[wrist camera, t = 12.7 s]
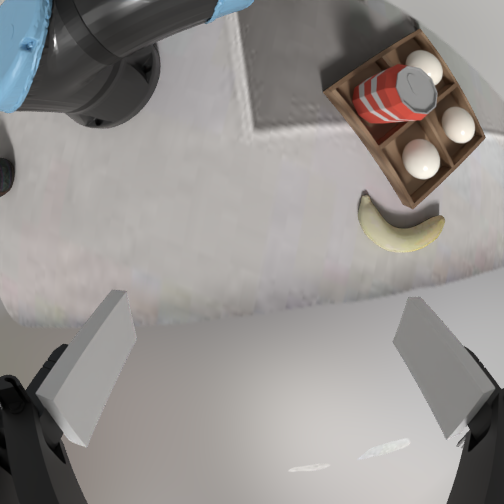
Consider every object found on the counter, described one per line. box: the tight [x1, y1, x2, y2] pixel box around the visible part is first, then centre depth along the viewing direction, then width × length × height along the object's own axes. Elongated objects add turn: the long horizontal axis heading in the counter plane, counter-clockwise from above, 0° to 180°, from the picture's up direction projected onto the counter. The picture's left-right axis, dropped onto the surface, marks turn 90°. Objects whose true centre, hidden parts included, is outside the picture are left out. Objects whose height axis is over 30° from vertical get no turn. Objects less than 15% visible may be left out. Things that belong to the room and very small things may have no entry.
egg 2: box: [402, 139, 440, 179], centre depth 31 cm, size 6×6×6 cm
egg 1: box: [406, 50, 443, 85], centre depth 26 cm, size 6×6×6 cm
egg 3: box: [441, 107, 475, 143], centre depth 29 cm, size 6×6×6 cm
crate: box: [323, 29, 486, 209], centre depth 30 cm, size 20×20×3 cm
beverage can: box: [352, 64, 438, 124], centre depth 25 cm, size 6×6×12 cm
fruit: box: [358, 195, 445, 252], centre depth 37 cm, size 7×15×3 cm, turn 82°
